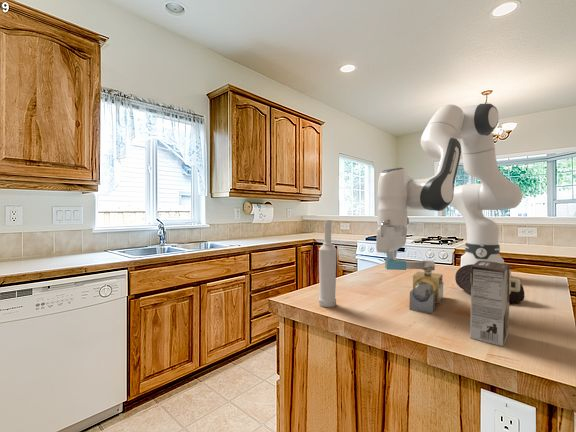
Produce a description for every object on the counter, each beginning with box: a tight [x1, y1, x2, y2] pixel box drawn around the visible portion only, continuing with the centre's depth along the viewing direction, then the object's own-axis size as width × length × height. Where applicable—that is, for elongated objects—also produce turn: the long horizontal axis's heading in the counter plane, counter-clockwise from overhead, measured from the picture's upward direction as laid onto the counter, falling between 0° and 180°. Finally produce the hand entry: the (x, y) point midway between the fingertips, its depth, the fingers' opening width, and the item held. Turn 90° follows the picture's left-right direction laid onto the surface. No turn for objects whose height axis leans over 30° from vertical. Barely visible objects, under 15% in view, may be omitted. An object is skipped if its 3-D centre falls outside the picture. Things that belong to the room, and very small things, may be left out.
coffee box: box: [469, 261, 511, 347], centre depth 68 cm, size 9×6×16 cm
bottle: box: [318, 219, 338, 308], centre depth 90 cm, size 5×5×25 cm
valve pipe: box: [409, 270, 444, 315], centre depth 92 cm, size 20×7×10 cm, turn 146°
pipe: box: [454, 264, 526, 304], centre depth 99 cm, size 10×15×15 cm
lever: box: [384, 259, 436, 272], centre depth 93 cm, size 14×4×3 cm, turn 84°
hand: (391, 263), depth 96 cm, fingers closed
